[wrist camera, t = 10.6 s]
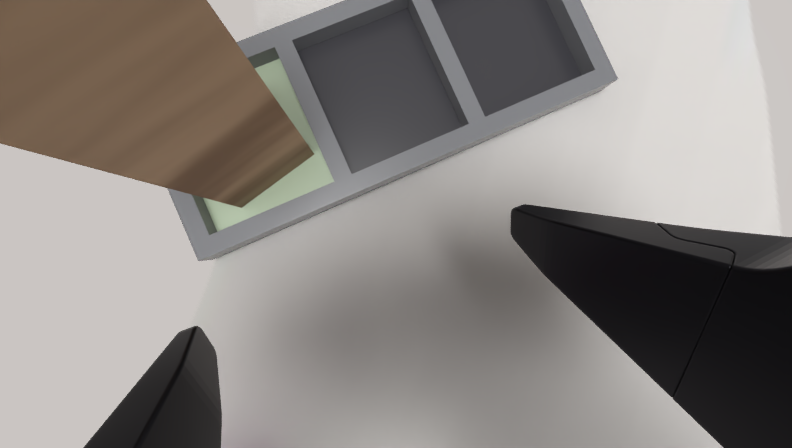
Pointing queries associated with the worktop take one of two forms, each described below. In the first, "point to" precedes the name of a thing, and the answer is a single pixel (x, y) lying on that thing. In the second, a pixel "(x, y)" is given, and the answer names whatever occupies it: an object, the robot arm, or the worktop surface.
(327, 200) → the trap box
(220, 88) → the walnut block
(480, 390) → the worktop surface
